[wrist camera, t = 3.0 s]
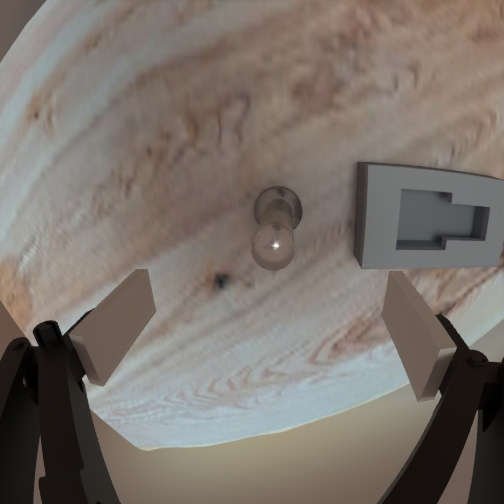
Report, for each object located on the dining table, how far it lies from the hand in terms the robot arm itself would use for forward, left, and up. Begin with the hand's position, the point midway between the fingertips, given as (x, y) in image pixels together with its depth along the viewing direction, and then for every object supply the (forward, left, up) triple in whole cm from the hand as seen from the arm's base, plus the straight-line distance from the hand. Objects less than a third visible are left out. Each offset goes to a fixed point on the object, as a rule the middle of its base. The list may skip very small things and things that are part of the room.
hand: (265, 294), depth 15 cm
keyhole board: (+14, +13, -20) cm, 27 cm away
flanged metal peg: (0, 0, -20) cm, 20 cm away
